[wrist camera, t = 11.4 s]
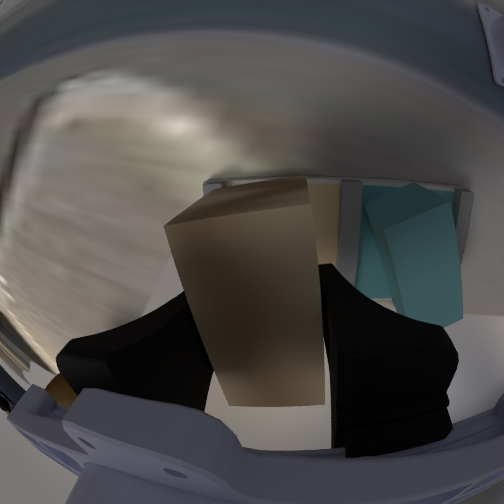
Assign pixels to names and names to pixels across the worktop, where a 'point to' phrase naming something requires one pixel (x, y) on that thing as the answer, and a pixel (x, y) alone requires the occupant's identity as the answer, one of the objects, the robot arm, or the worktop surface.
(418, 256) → the teal bar
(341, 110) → the worktop surface
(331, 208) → the grey flat rectangular tray
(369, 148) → the worktop surface
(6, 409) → the toy
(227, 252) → the maple bar
